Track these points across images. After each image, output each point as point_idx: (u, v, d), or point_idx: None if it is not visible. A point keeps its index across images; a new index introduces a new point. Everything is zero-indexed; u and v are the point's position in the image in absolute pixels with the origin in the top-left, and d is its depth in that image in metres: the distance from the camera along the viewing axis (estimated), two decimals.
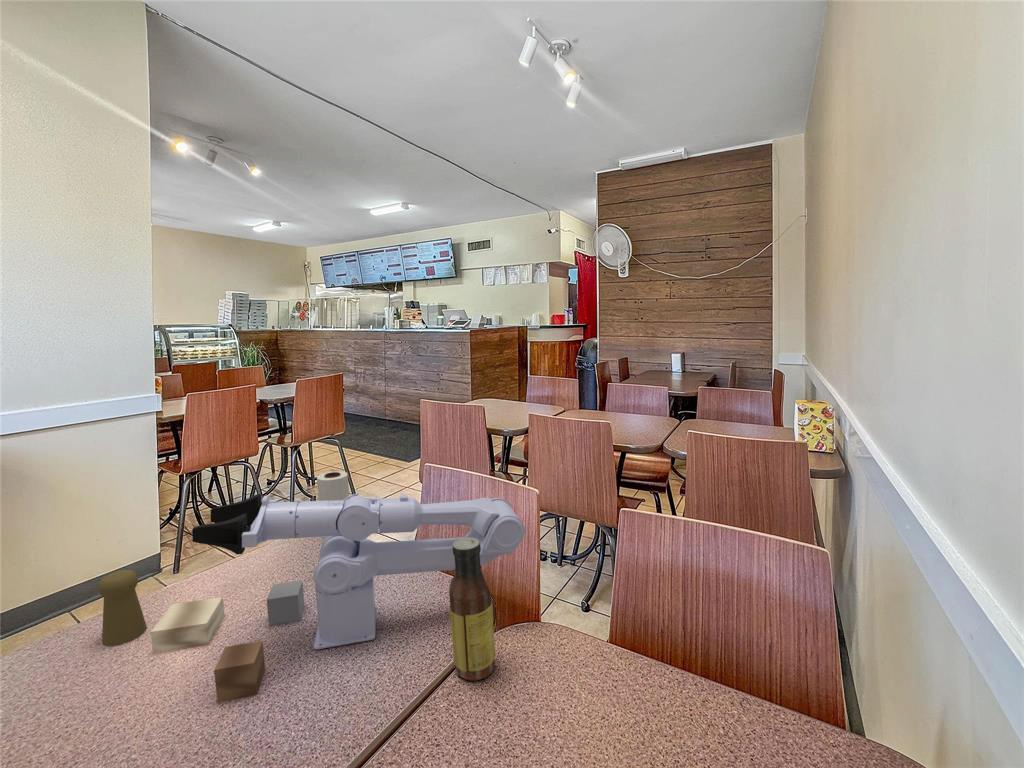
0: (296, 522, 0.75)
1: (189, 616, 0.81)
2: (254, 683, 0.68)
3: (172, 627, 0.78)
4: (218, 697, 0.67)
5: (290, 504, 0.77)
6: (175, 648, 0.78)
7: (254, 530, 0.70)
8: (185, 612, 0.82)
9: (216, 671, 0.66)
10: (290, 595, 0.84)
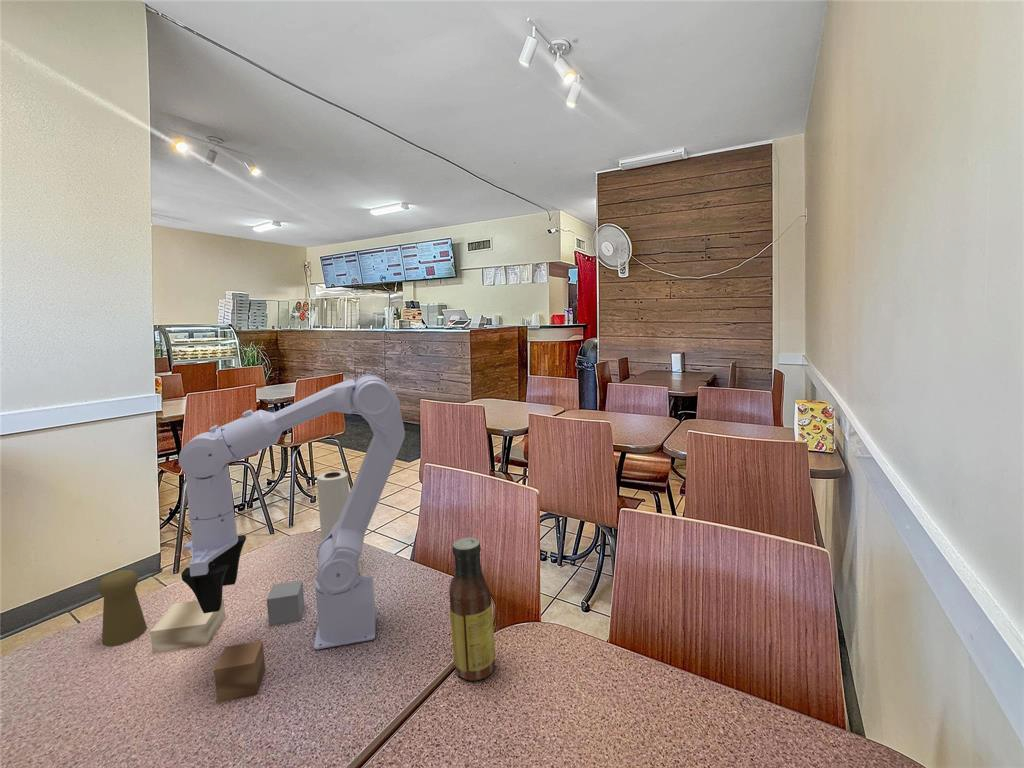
0: (202, 518, 0.70)
1: (188, 616, 0.81)
2: (254, 683, 0.68)
3: (171, 627, 0.78)
4: (218, 697, 0.67)
5: None
6: (174, 648, 0.78)
7: None
8: (185, 612, 0.82)
9: (216, 671, 0.66)
10: (290, 595, 0.84)
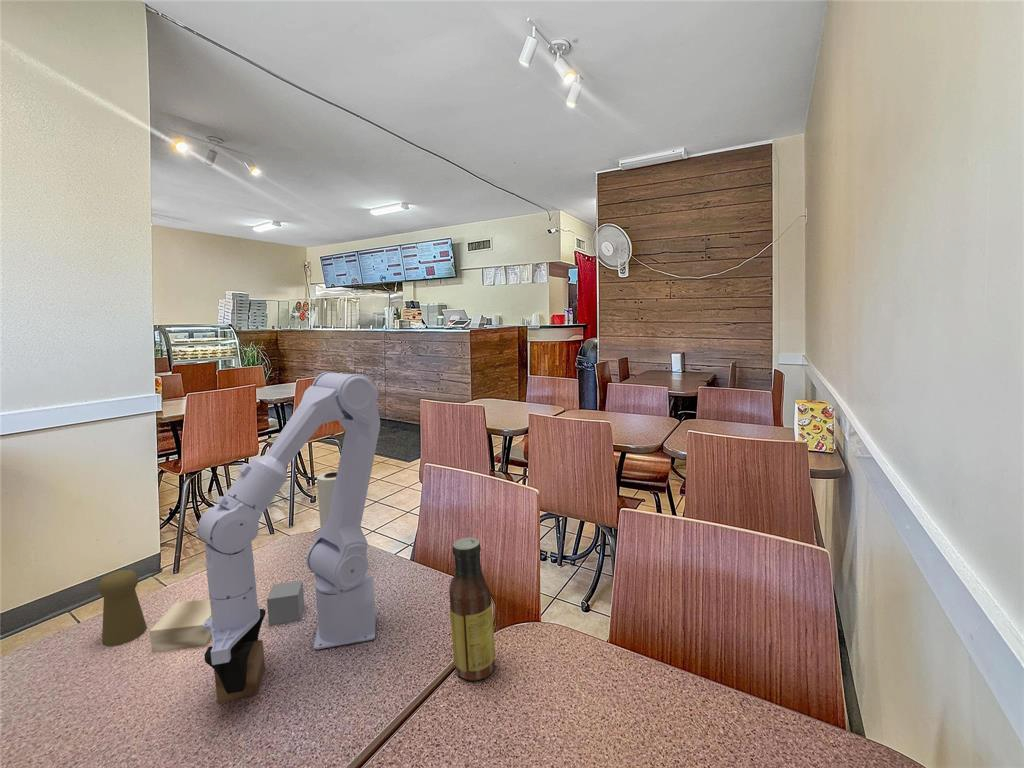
0: (235, 595, 0.66)
1: (188, 616, 0.81)
2: (254, 682, 0.68)
3: (170, 627, 0.78)
4: (218, 696, 0.67)
5: None
6: (173, 648, 0.78)
7: None
8: (186, 612, 0.82)
9: None
10: (290, 595, 0.84)
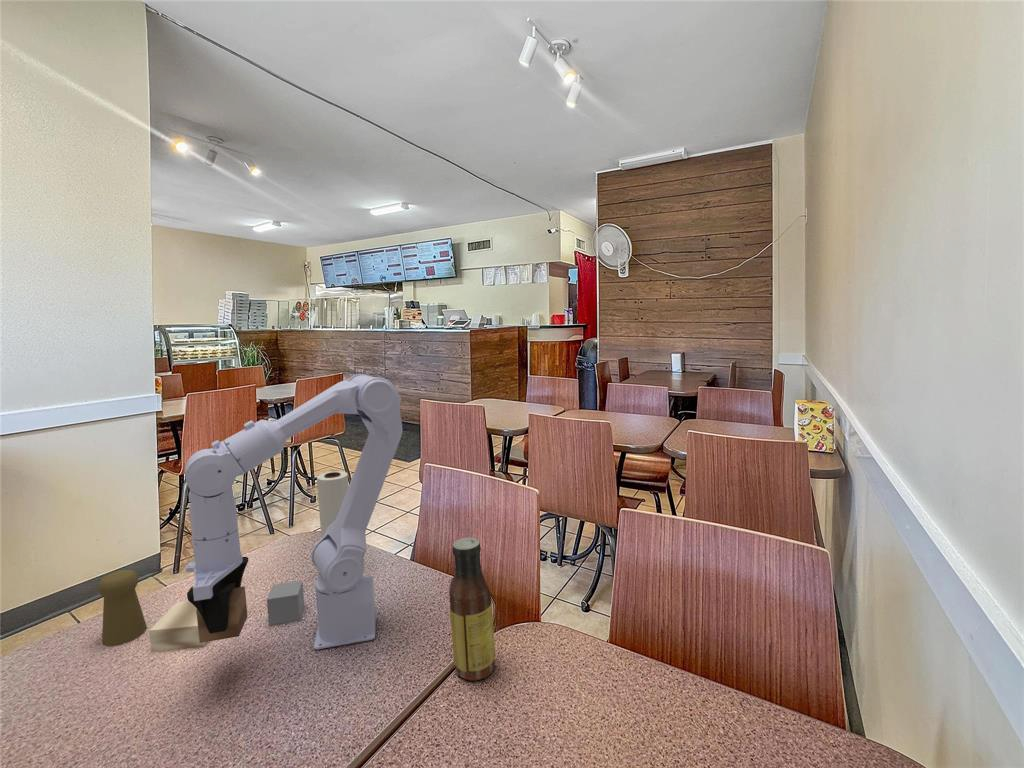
0: (211, 538, 0.67)
1: (188, 616, 0.81)
2: (236, 624, 0.69)
3: (169, 627, 0.78)
4: (201, 637, 0.68)
5: None
6: (172, 648, 0.78)
7: None
8: (186, 611, 0.82)
9: (198, 611, 0.68)
10: (290, 595, 0.84)
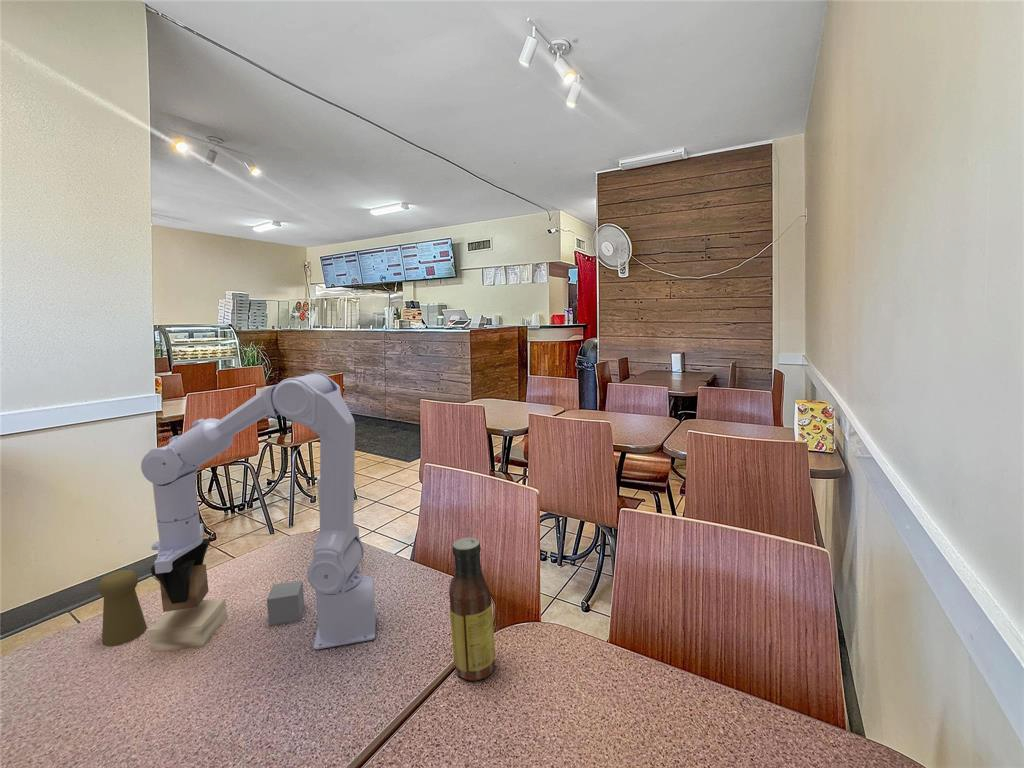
0: (161, 520, 0.77)
1: (188, 616, 0.81)
2: (195, 596, 0.79)
3: (169, 627, 0.78)
4: (164, 607, 0.78)
5: None
6: (171, 648, 0.78)
7: None
8: (186, 611, 0.82)
9: (161, 584, 0.78)
10: (290, 595, 0.84)
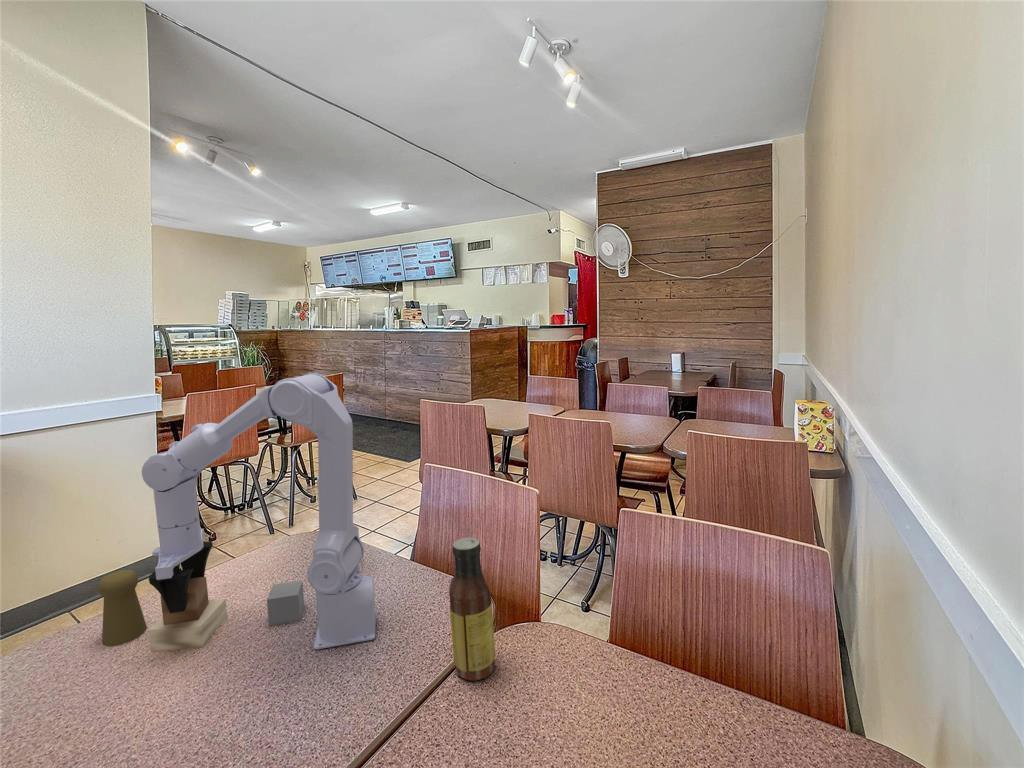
0: (162, 526, 0.77)
1: None
2: (195, 609, 0.80)
3: (169, 627, 0.78)
4: (164, 620, 0.79)
5: None
6: (171, 648, 0.78)
7: None
8: None
9: None
10: (290, 595, 0.84)
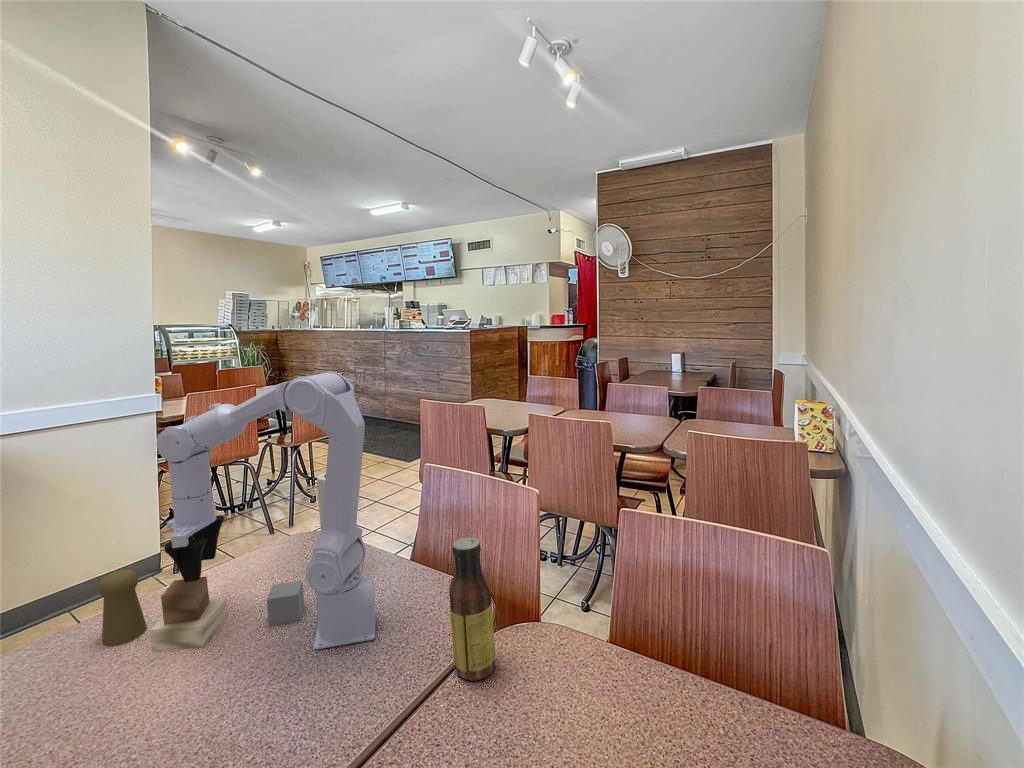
0: (175, 497, 0.79)
1: None
2: (196, 609, 0.80)
3: (169, 627, 0.78)
4: (165, 620, 0.79)
5: None
6: (172, 648, 0.78)
7: None
8: None
9: (162, 597, 0.78)
10: (290, 595, 0.84)
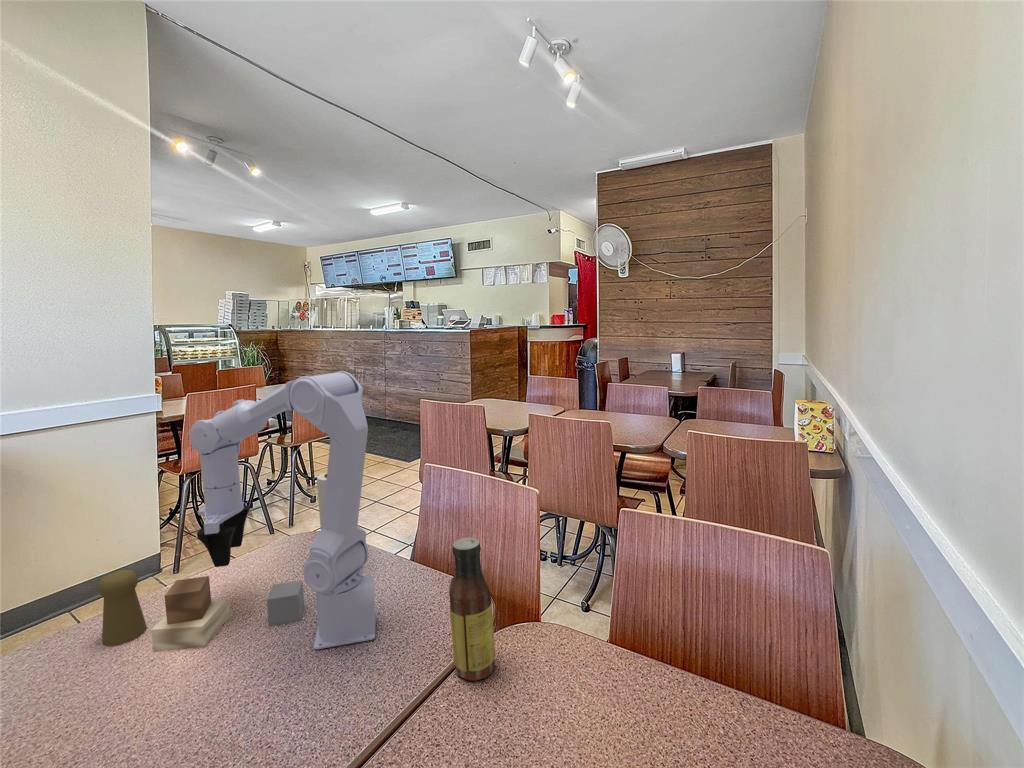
0: (205, 487, 0.84)
1: None
2: (199, 608, 0.80)
3: (171, 627, 0.78)
4: (168, 619, 0.79)
5: (204, 491, 0.85)
6: (173, 648, 0.78)
7: None
8: None
9: (166, 597, 0.78)
10: (290, 595, 0.84)
